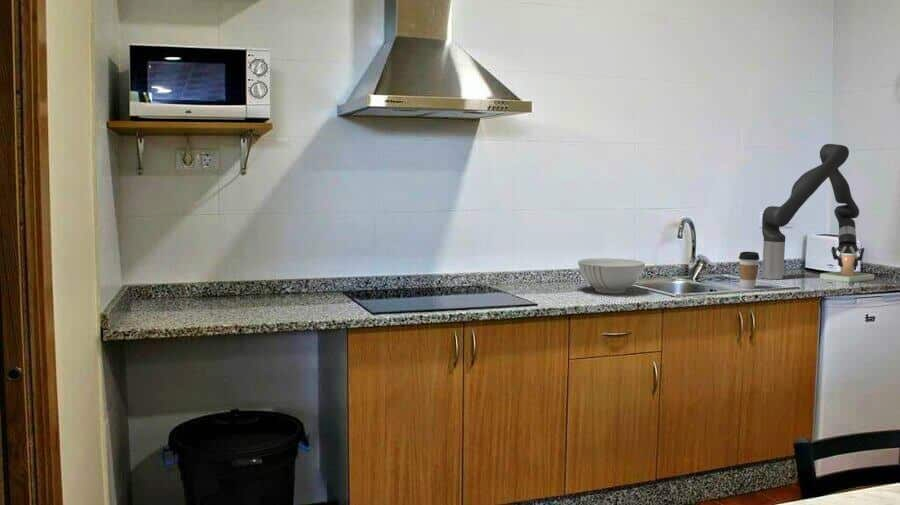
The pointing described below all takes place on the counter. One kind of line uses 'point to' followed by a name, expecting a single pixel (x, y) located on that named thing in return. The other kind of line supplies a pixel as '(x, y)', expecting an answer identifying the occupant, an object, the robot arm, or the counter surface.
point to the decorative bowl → (611, 273)
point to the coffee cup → (748, 269)
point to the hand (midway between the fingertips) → (848, 266)
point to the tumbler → (847, 264)
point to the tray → (847, 277)
